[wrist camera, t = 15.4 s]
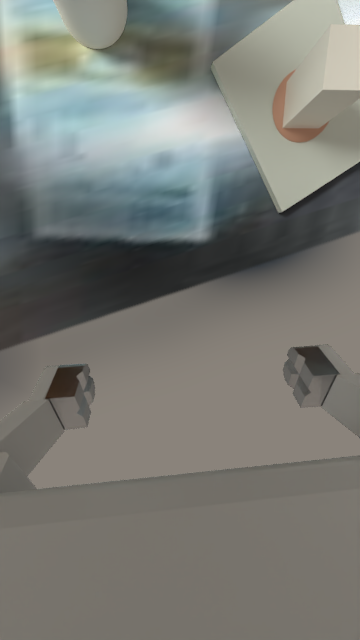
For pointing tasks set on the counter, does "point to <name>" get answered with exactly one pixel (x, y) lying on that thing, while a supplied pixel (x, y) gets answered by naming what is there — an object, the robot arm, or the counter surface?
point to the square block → (325, 79)
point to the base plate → (269, 99)
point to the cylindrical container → (94, 20)
